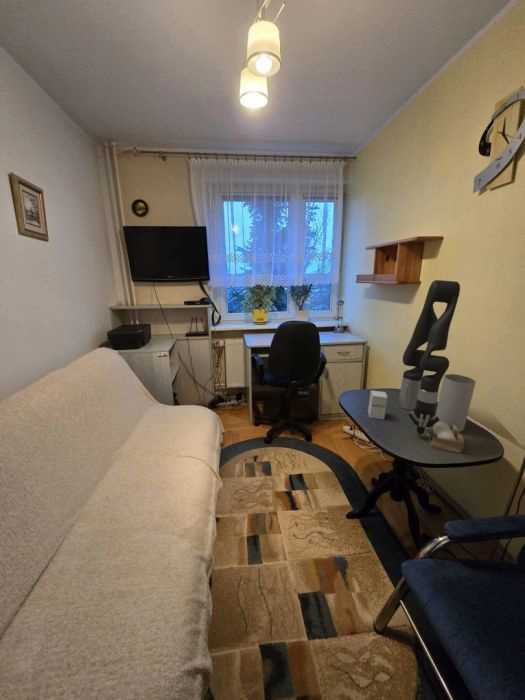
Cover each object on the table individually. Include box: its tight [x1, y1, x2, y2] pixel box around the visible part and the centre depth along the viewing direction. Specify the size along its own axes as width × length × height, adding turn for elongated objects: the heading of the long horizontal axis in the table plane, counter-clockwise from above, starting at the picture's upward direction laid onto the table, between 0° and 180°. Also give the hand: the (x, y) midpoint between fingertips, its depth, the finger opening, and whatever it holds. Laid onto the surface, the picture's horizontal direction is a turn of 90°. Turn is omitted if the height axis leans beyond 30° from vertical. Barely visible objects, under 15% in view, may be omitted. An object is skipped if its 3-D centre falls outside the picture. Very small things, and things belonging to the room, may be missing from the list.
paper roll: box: [433, 423, 456, 440], centre depth 127 cm, size 10×7×7 cm
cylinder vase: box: [435, 373, 477, 433], centre depth 138 cm, size 12×12×25 cm
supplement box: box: [367, 390, 389, 420], centre depth 147 cm, size 7×7×13 cm
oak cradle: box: [424, 418, 465, 453], centre depth 127 cm, size 14×11×7 cm
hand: (419, 433), depth 130 cm, fingers closed
